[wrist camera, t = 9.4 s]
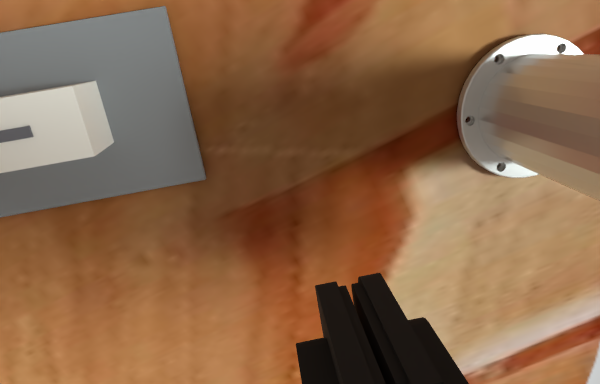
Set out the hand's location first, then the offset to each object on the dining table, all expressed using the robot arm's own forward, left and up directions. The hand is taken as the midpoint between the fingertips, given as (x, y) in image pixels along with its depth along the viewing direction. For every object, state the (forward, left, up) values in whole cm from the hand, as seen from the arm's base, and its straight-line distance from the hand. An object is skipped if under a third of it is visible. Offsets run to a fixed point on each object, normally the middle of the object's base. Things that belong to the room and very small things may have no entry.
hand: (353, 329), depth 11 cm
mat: (+16, -4, -29) cm, 33 cm away
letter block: (+14, -4, -26) cm, 30 cm away
